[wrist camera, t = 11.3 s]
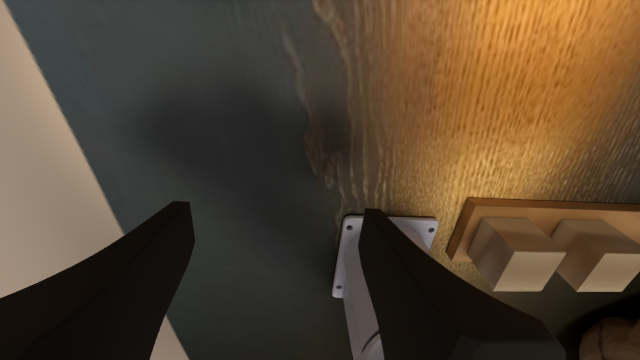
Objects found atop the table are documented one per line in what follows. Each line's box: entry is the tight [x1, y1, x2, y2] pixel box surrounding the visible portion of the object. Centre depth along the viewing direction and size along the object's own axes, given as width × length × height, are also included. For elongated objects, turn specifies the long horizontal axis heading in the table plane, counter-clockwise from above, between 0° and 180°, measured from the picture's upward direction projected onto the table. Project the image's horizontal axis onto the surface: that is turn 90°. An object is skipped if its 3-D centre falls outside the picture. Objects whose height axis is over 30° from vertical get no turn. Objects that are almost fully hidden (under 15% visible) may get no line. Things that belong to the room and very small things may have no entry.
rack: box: [446, 198, 640, 292], centre depth 24 cm, size 6×20×5 cm, turn 85°
